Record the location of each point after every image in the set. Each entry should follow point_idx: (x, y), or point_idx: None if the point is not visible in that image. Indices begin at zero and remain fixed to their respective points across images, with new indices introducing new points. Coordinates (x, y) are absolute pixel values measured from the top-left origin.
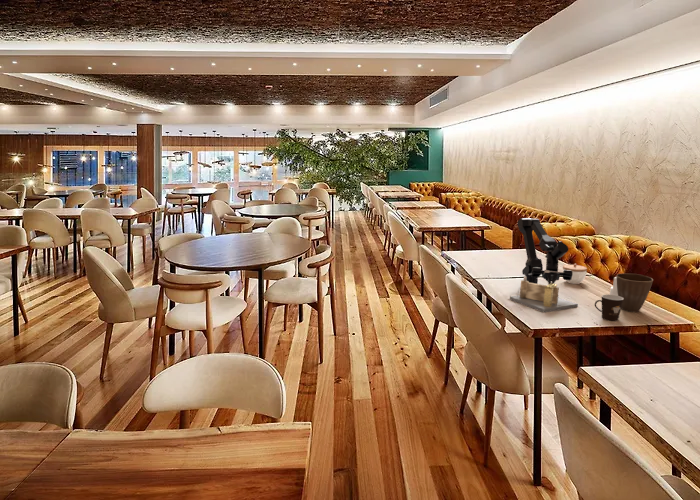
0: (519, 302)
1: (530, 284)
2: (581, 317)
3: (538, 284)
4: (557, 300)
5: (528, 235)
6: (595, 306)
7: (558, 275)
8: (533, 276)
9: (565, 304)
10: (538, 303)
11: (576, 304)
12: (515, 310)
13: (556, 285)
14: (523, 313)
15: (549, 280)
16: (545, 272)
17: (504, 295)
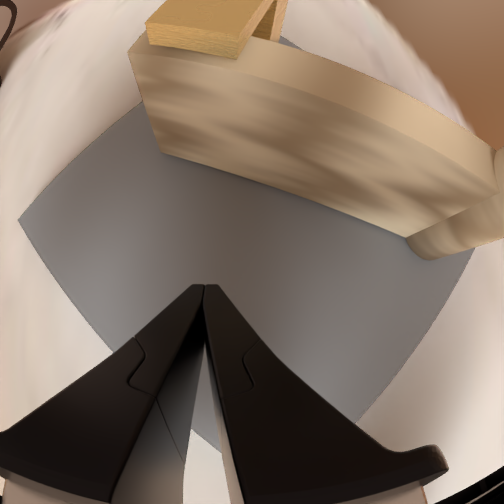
0: None
1: (463, 135)
2: (81, 47)
3: (396, 111)
4: (158, 136)
5: None
6: (16, 13)
7: (10, 449)
8: (472, 485)
9: (102, 159)
10: None
11: (27, 211)
12: (393, 50)
13: (157, 21)
14: (352, 22)
15: (244, 335)
16: (436, 469)
17: (500, 311)
